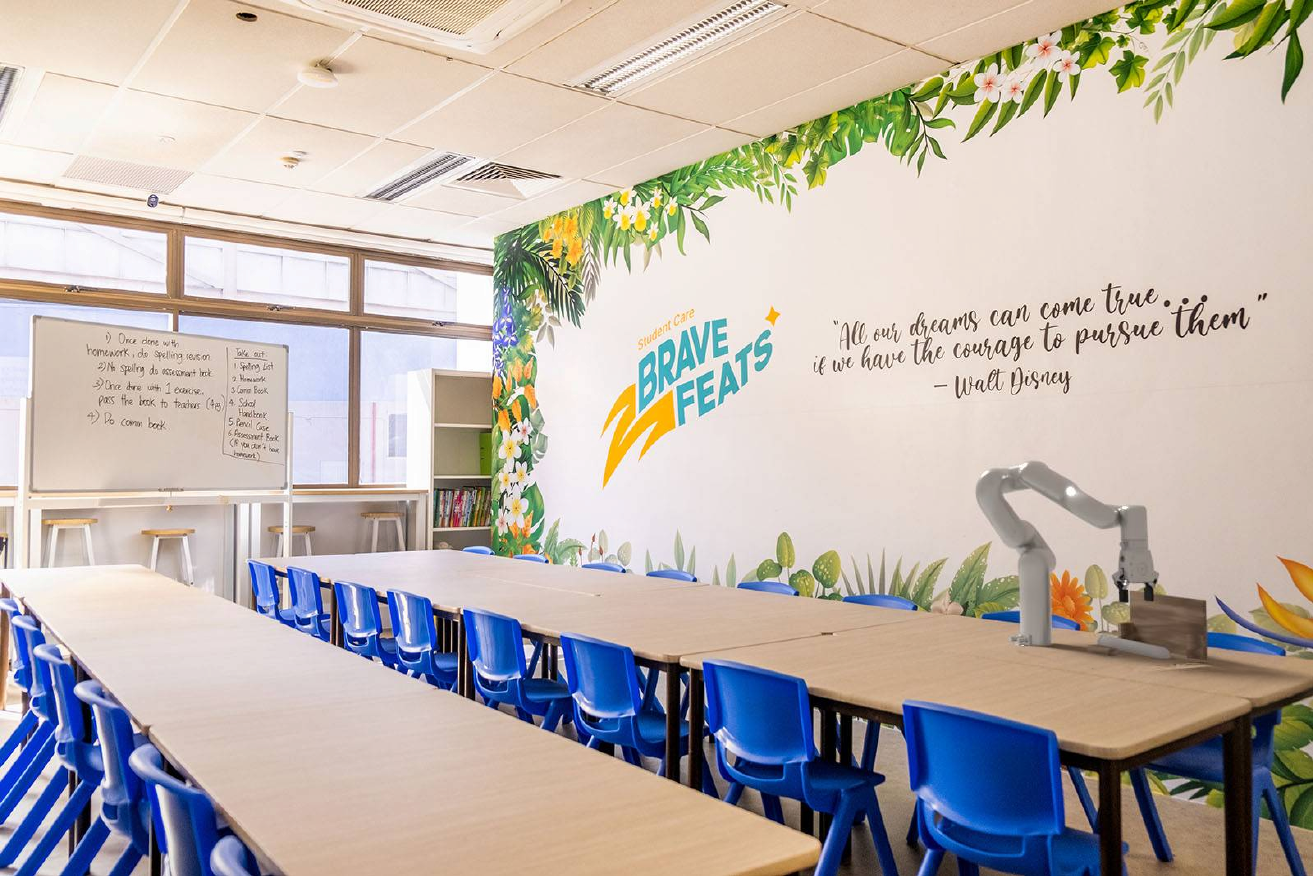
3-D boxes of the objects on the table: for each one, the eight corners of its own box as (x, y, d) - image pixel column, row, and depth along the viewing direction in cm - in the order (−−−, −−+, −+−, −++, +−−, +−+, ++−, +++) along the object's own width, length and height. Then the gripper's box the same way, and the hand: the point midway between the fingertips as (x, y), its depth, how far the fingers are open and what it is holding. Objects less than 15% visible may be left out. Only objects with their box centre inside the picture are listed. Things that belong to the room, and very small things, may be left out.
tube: (1176, 650, 296) (1111, 636, 320) (1163, 645, 295) (1099, 632, 318) (1172, 667, 295) (1107, 653, 319) (1159, 663, 294) (1094, 648, 317)
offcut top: (1108, 656, 299) (1108, 649, 299) (1087, 652, 307) (1087, 645, 307) (1118, 655, 301) (1118, 648, 301) (1097, 651, 308) (1097, 644, 308)
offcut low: (1111, 664, 297) (1111, 657, 297) (1086, 658, 307) (1086, 651, 307) (1124, 663, 299) (1124, 656, 299) (1099, 657, 308) (1099, 650, 308)
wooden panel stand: (1190, 663, 296) (1189, 601, 296) (1118, 647, 322) (1117, 591, 323) (1207, 661, 298) (1206, 600, 299) (1134, 646, 324) (1133, 590, 325)
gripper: (1121, 547, 302) (1123, 604, 301) (1166, 545, 307) (1168, 601, 307) (1102, 545, 309) (1104, 601, 308) (1147, 544, 315) (1149, 599, 314)
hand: (1136, 601), depth 307 cm, fingers open, 9 cm apart
